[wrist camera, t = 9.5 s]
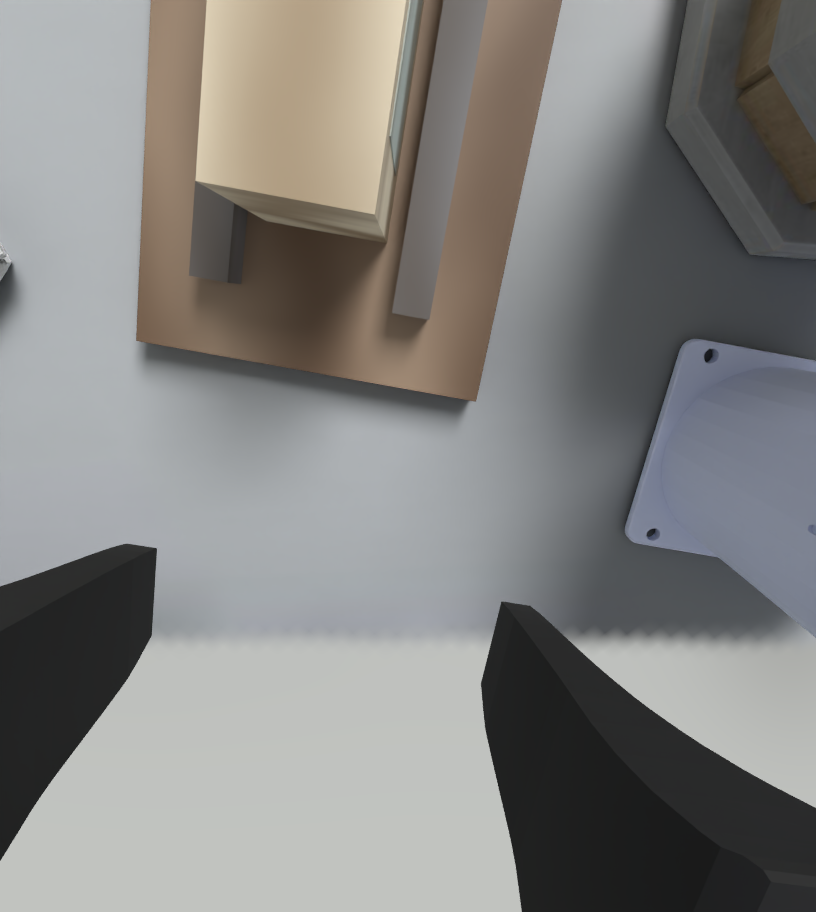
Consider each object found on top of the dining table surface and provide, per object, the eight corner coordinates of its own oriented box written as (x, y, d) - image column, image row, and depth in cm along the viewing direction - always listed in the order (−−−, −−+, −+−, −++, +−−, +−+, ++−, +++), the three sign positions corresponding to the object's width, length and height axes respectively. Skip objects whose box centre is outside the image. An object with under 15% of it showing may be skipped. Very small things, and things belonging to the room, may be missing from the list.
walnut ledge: (631, -355, 15) (676, -489, 12) (472, 396, 20) (480, 408, 18) (192, -460, 14) (146, -621, 12) (152, 338, 20) (115, 343, 17)
